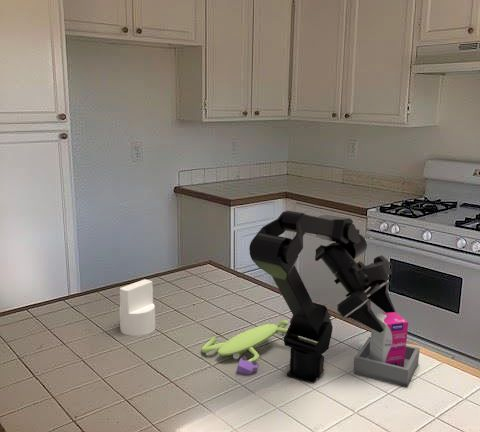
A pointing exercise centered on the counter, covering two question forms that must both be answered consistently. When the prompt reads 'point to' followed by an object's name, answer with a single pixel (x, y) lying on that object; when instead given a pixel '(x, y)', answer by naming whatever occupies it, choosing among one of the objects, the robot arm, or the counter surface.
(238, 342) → the figurine
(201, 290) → the counter surface
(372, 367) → the bin
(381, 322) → the supplement box
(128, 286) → the base with upright slab
